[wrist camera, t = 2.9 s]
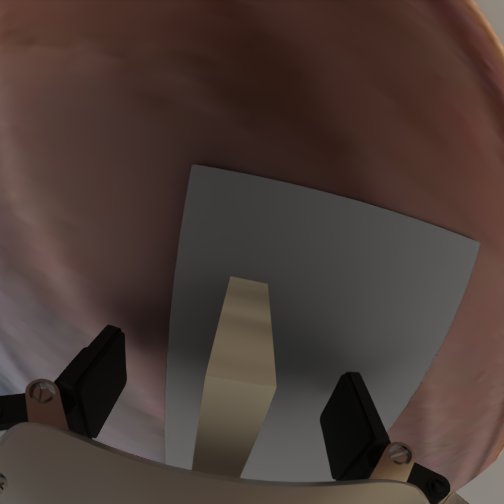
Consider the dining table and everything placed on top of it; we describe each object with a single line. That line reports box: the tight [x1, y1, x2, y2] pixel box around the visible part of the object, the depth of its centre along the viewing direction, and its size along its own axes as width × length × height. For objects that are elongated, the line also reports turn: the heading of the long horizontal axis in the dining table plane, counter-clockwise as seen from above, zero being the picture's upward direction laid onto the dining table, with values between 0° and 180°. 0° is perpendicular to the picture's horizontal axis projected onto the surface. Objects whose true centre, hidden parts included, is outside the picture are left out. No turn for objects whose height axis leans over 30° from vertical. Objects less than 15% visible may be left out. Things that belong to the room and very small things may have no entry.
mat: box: [165, 164, 480, 482], centre depth 14 cm, size 24×14×1 cm, turn 168°
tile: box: [192, 276, 277, 478], centre depth 9 cm, size 8×2×6 cm, turn 168°
